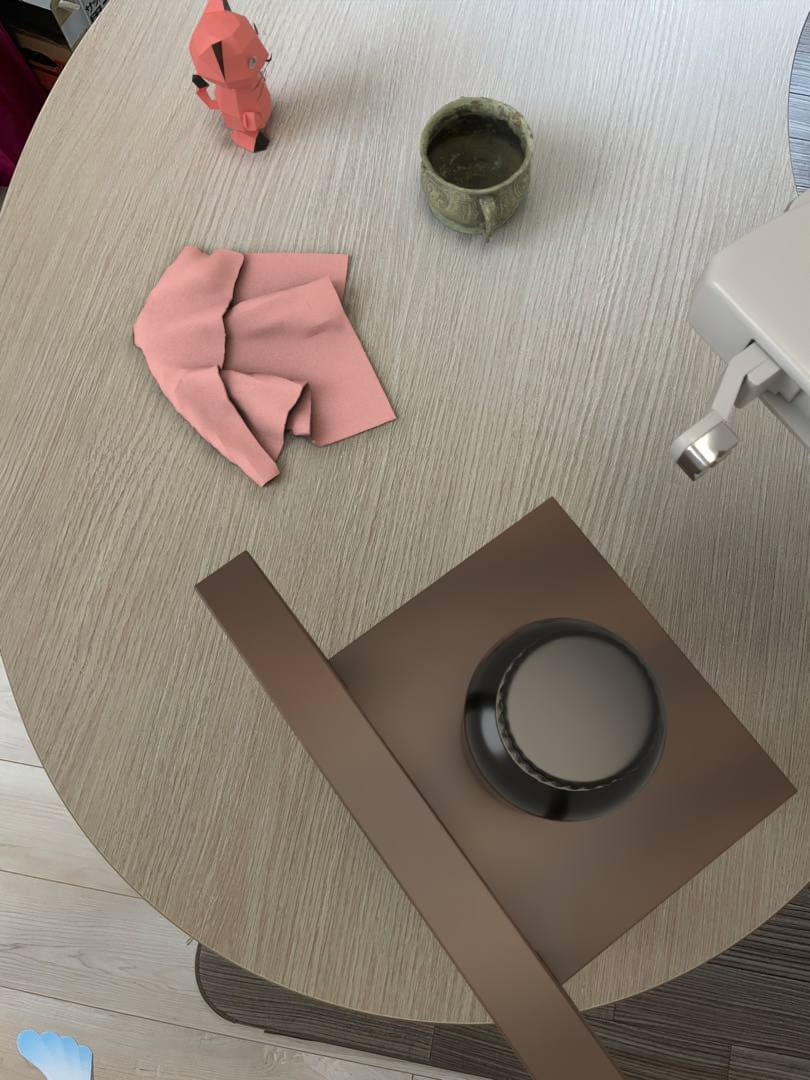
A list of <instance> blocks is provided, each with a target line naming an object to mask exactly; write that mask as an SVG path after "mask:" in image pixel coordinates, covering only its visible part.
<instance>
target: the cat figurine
mask: <svg viewBox="0 0 810 1080" xmlns="http://www.w3.org/2000/svg"><path fill="white" fill-rule="evenodd" d="M252 25H253V26H252ZM262 26H263V28H265V26H264V25H262ZM262 32H263V34H264V35H266V32H265V30H262ZM259 35H260V34H259V30H258V27H257V26H256V23H255V22H253V23H252V24H251V22H250V21H249V19H248V18H247V16H246V15H243V14H240V13H237V12H235V11H233V10H232V8H231V6H230V3H229V1H228V0H208V1H207V3H206V5H205V8H204V9H203V13H202V15H201V16H200V18H199V21H198V23H197V24H196V26H195V28H194V30H193V33H192V34H191V38H190V41H189V45H188V51H189V54H190V57H191V60H192V63H193V66H194V69H195V71H196V74H192V75H191V83H193V84H194V86H196V87H195V94H196V96H197V97H198V98H199V99H200V100H201V101H202V102H203V103H204V104H205V106H207V107H208V109H209V110H215V111H216V110H217V111H220V114H221V116H222V119H223V121H224V122H223V123H224V124H225V127H226V128H227V129H231V130H233V132H232V133H231V135H230V139H231V140H232V141H233V142H234V143H235V144H236V145H237V146H238V147H239V148H242V149H245V150H247V151H249V152H251V153H254V154H255V153H257V152H258V153H259V152H261V151H266V150H267V148H268V147H269V144H270V142H271V140H270V139H268V137H267V136H266V134H264V132H262V131H261V130H260V129H264V128H265V127H266V124H267V122H268V120H269V118H270V116H271V114H273V103H272V96H271V93H270V90H269V88H268V86H267V83H266V81H267V79H266V76H267V71H266V70H267V67H268V65H269V64H270V62H272V59H273V52H271V53H270V54H269V52H268V49H266V47H267V48H268V46H266V47H265V45H264V44H263V41H262V40H261V38H260V37H259ZM266 44H268V43H267V41H266ZM268 58H269V59H268ZM266 63H267V64H266ZM265 64H266V66H265ZM264 66H265V67H264ZM262 69H263V70H262ZM208 82H209V83H208ZM210 83H212V84H214V85H215V86H214V87H215V88H214V94H213V95H214V98H215V99H212V97H211V96H210V95H209V92H208V91H207V89H208V88H209V87H210V86H211V85H210Z"/></svg>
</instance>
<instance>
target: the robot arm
mask: <svg viewBox="0 0 810 1080" xmlns="http://www.w3.org/2000/svg"><path fill="white" fill-rule="evenodd" d="M687 321H688V324H689V325H690V327H691V328H692V329H693V331H695V333H696V334H697V335H698V336H699V337H700V338H701V339H702V340H703V341H704V342H705V344H707V346H708V347H709V348H710V349H711V350H712V352H714V353H715V354H716V355H717V356H718V358H720V359H721V360H722V362H724V364H725V365H726V366H725V367H724V369H723V370H722V372H721V374H720V375H719V377H718V378H717V379H716V381H715V383H714V384H713V386H712V389H711V392H710V395H709V396H708V397H709V398H708V400H707V403H706V406H705V408H704V411H703V414H702V417H701V419H700V420H699V421H697V422H696V423H694V424H693V425H692V426H690V427H689V428H688V429H686V430H685V431H684V432H682V433H681V434H680V435H679V436H678V437H677V438H676V439H675V440H674V441H673V442H672V444H671V446H670V447H669V449H668V451H667V452H666V453H667V454H668V455H669V457H670V458H671V459H672V460H673V461H674V462H675V464H677V466H678V467H679V468H680V469H681V470H682V471H683V473H685V475H686V476H687V477H688V478H689V479H690V480H691V481H692V482H697V480H699V479H700V478H702V477H703V476H704V475H705V474H706V473H707V472H708V471H709V469H713V468H715V467H716V466H718V465H719V464H720V463H722V462H723V461H724V460H725V459H727V458H728V456H730V454H731V453H732V450H733V449H735V448H736V447H737V445H738V444H739V443H740V442H741V438H740V437H738V435H737V434H736V433H735V432H734V431H733V429H732V428H731V427H730V426H729V425H728V421H729V418H730V416H731V413H732V411H733V408H734V407H735V408H736V409H739V410H742V409H744V407H747V406H748V405H749V404H750V403H751V402H753V401H754V400H756V399H758V400H759V401H760V402H761V403H762V404H763V405H764V406H765V407H766V409H768V410H769V412H771V414H772V415H773V416H774V417H775V418H776V419H777V420H778V421H779V423H780V424H782V425H783V426H784V427H785V429H786V430H788V431H789V433H790V434H791V435H792V436H793V437H794V438H795V439H796V440H797V441H798V442H799V443H800V444H801V446H803V447H804V449H805V450H806V451H807V452H808V453H809V454H810V187H808V188H807V189H806V190H805V191H803V192H802V193H800V194H799V195H798V196H795V197H794V198H793V199H791V201H790V202H789V203H788V204H787V205H786V207H785V209H784V210H783V212H782V213H780V214H778V215H777V216H775V217H772V218H771V219H769V220H767V221H765V222H763V223H761V224H760V225H757V226H756V227H754V228H752V229H751V230H749V231H748V232H746V233H744V234H742V235H741V236H739V237H738V238H736V239H734V240H733V241H731V242H729V243H728V244H726V245H725V246H724V247H722V248H721V249H719V250H718V251H717V252H716V253H714V254H713V255H712V256H711V258H710V259H709V260H708V261H707V263H706V264H705V266H704V268H703V269H702V271H701V272H700V275H699V276H698V278H697V280H696V282H695V285H694V287H693V290H692V293H691V297H690V303H689V307H688V316H687Z"/></svg>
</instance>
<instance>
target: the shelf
mask: <svg viewBox="0 0 810 1080" xmlns="http://www.w3.org/2000/svg"><path fill="white" fill-rule="evenodd" d="M193 588H194V590H195V592H196V594H197V595H198V596H199V597H200V599H201V601H202V602H203V604H204V605H205V606H206V608H207V609H208V611H209V612H210V614H211V615H212V617H213V618H214V619H215V621H216V622H217V624H218V625H219V627H220V628H221V630H222V631H223V632H224V634H225V635H226V637H227V639H228V640H229V641H230V642H231V644H232V645H233V647H234V648H235V650H236V651H237V653H238V654H239V656H240V657H241V659H242V660H243V661H244V663H245V664H246V666H247V667H248V669H249V670H250V671H251V673H252V675H253V676H254V677H255V679H256V680H257V682H258V683H259V685H260V686H261V687H262V689H263V690H264V692H265V693H266V695H267V696H268V698H269V699H270V701H271V702H272V703H273V705H274V707H276V710H278V712H279V714H280V716H282V718H283V719H284V721H285V722H286V724H287V725H288V727H289V728H290V730H291V731H292V733H293V734H294V735H295V737H296V739H298V741H299V743H300V744H301V745H302V747H303V749H305V751H306V752H307V753H306V754H308V756H309V757H310V758H311V760H312V762H313V763H314V764H315V766H316V767H317V768H318V770H319V772H320V773H321V774H322V776H323V778H324V779H325V780H326V781H327V784H328V785H329V787H331V789H332V791H333V792H334V793H335V795H336V796H337V798H338V799H339V801H340V802H341V803H342V805H343V806H344V808H345V809H346V810H347V812H348V814H349V815H350V816H351V818H352V819H353V821H354V822H355V824H356V825H357V827H358V828H359V829H360V830H361V832H362V834H363V835H364V837H365V838H366V840H367V841H368V842H369V844H370V845H371V847H372V848H373V849H374V851H375V852H376V854H377V855H378V857H379V858H380V860H381V861H382V863H383V864H384V866H385V867H386V868H387V870H388V872H389V873H390V874H391V876H392V877H393V879H394V880H395V882H396V883H397V885H398V886H399V888H400V889H401V890H402V892H403V893H404V895H405V896H406V897H407V899H408V900H409V901H410V903H411V905H412V906H413V908H414V909H415V911H416V912H417V913H418V915H419V916H420V918H421V920H422V921H423V922H424V923H425V925H426V927H427V928H428V930H429V931H430V932H431V933H432V935H433V936H434V938H435V940H436V941H437V942H438V944H439V945H440V947H441V948H442V949H443V951H444V953H445V954H446V955H447V957H448V958H449V959H450V962H452V964H453V966H454V967H455V969H456V970H457V971H458V973H459V974H460V975H461V977H462V979H463V980H464V982H465V983H466V984H467V986H468V987H469V989H470V990H471V991H472V993H473V995H474V996H475V997H476V999H477V1000H478V1002H479V1003H480V1004H481V1006H482V1008H483V1009H484V1010H485V1012H486V1014H487V1015H488V1016H489V1018H490V1019H491V1021H492V1022H493V1024H494V1025H495V1026H496V1028H497V1029H498V1030H499V1032H500V1034H501V1035H502V1036H503V1038H504V1039H505V1041H506V1042H507V1044H508V1045H509V1046H510V1048H511V1050H512V1051H513V1052H514V1054H515V1055H516V1057H517V1058H518V1060H519V1061H520V1063H521V1064H522V1065H523V1067H524V1069H525V1070H526V1072H528V1074H529V1076H530V1077H531V1079H532V1080H629V1079H628V1078H627V1076H626V1075H625V1073H624V1072H623V1071H622V1069H621V1068H620V1066H619V1065H618V1063H617V1062H616V1061H615V1059H614V1058H613V1056H612V1055H611V1053H610V1052H609V1050H608V1049H607V1047H606V1046H605V1045H604V1043H603V1042H602V1040H601V1039H600V1037H599V1036H598V1035H597V1034H596V1032H595V1030H594V1029H593V1027H592V1026H591V1025H590V1023H589V1022H588V1020H587V1019H586V1018H585V1016H584V1015H583V1013H582V1012H581V1010H580V1009H579V1007H578V1006H577V1005H576V1003H575V1001H574V1000H573V999H572V997H571V996H570V994H568V991H567V990H566V989H565V988H564V986H563V985H564V984H566V983H567V982H568V981H570V979H572V978H573V977H574V976H575V975H577V974H578V973H580V971H582V969H583V968H585V967H587V966H588V965H589V964H590V963H592V962H593V961H594V960H595V959H596V958H598V957H599V956H600V955H601V954H602V953H603V952H605V951H606V950H607V949H608V948H609V947H611V946H612V945H613V944H614V943H616V942H617V941H618V940H619V939H620V938H622V937H623V936H624V935H625V934H627V933H628V932H629V931H630V930H632V928H634V927H635V926H636V925H638V924H639V923H640V922H641V921H642V920H644V919H645V918H646V917H648V916H649V915H650V914H651V913H652V912H653V911H654V910H656V909H658V907H660V906H661V905H662V904H663V903H664V902H666V901H667V900H668V899H669V898H670V897H671V896H673V895H674V894H675V893H677V892H678V891H679V890H680V889H681V888H682V887H684V886H685V885H686V884H687V883H689V881H692V879H693V878H695V877H696V876H697V875H699V874H700V873H701V872H702V871H703V870H705V869H706V867H708V866H709V865H711V864H712V863H713V862H714V861H716V860H717V859H718V858H719V857H720V856H721V855H723V854H724V853H725V852H726V851H728V850H729V849H730V848H731V847H732V846H733V845H735V844H736V843H737V842H738V841H740V840H741V839H742V838H744V836H746V835H747V834H749V833H750V832H751V831H752V830H753V829H754V828H756V827H757V826H758V825H759V824H760V823H761V822H763V821H764V820H765V819H767V818H768V817H769V816H770V815H772V813H774V812H775V811H776V810H778V809H779V808H780V807H781V806H782V805H783V804H785V803H786V802H787V801H788V800H790V799H791V798H792V797H793V796H795V795H796V794H797V793H798V789H797V787H795V785H794V784H793V783H792V782H791V780H790V779H789V778H788V777H787V776H786V774H785V773H784V772H783V770H781V768H780V767H779V765H777V764H776V762H775V761H774V760H773V759H772V758H771V756H770V755H769V754H768V753H767V752H766V750H765V749H764V748H763V747H762V746H761V745H760V743H759V742H758V741H757V739H756V738H755V737H754V736H753V734H751V732H750V731H749V730H748V728H746V726H745V725H744V724H743V723H742V721H740V719H739V718H738V717H737V715H736V714H735V713H734V712H733V711H732V710H731V708H730V707H729V706H728V705H727V704H726V702H725V701H724V700H723V699H722V697H721V696H720V695H719V694H718V693H717V691H716V690H715V689H714V688H713V687H712V685H711V684H710V683H709V682H708V681H707V680H706V678H705V677H704V676H703V675H702V674H701V672H700V671H699V670H698V669H697V667H696V666H695V665H694V664H693V663H692V661H691V660H690V659H689V658H688V657H687V655H686V654H685V653H684V652H683V651H682V649H681V648H680V647H679V646H678V645H677V644H676V642H675V641H674V640H673V639H672V637H671V636H670V635H669V634H668V633H667V632H666V630H665V629H664V628H663V627H662V626H661V624H660V623H659V622H658V621H657V619H656V618H655V617H654V616H653V615H652V614H651V612H650V611H649V609H647V607H646V606H645V605H644V604H643V603H642V601H641V599H639V598H638V596H637V595H635V593H634V591H632V590H631V588H630V587H629V586H628V585H627V583H626V582H625V581H624V580H623V579H622V577H621V576H620V575H619V574H618V573H617V571H616V570H615V569H614V568H613V567H612V566H611V564H610V563H609V562H608V561H607V559H606V558H605V557H604V556H603V555H602V553H601V552H600V551H599V550H598V549H597V548H596V546H595V545H594V544H593V542H592V541H591V540H590V539H589V537H588V536H587V535H586V534H585V533H584V532H583V531H582V530H581V528H580V527H579V526H578V525H577V523H576V522H575V521H574V520H573V519H572V517H571V516H570V515H569V514H568V513H567V511H566V510H565V509H564V507H562V505H561V504H560V503H559V502H558V500H557V499H556V498H555V497H554V496H550V497H549V498H547V499H546V500H545V501H543V502H542V503H541V504H539V505H537V506H536V507H535V508H534V509H532V510H531V511H530V512H528V513H526V514H525V515H524V516H523V517H521V518H520V519H519V520H517V521H516V522H514V523H513V524H511V525H510V526H508V527H507V528H506V529H505V530H504V531H502V532H501V533H499V534H498V535H497V536H495V537H494V538H492V539H491V540H490V541H488V542H487V543H486V544H484V545H483V546H481V547H480V548H479V549H477V550H476V551H474V552H473V553H472V554H470V556H467V557H466V558H465V559H464V560H462V561H461V562H460V563H458V564H457V565H455V566H454V567H453V568H451V569H450V570H449V571H447V572H446V573H444V574H443V575H442V576H440V577H439V578H438V579H436V580H435V581H434V582H433V583H431V584H429V585H428V586H427V587H425V588H424V589H423V590H421V591H420V592H418V593H417V594H416V595H415V596H413V597H412V598H410V599H409V600H407V601H406V602H405V603H404V604H402V605H401V606H400V607H398V608H397V609H395V610H394V611H392V612H391V613H390V614H388V615H387V616H386V617H385V618H383V619H382V620H380V621H379V622H378V623H376V624H374V625H373V626H372V627H370V628H369V629H368V630H366V631H365V632H363V633H362V634H361V635H360V636H358V637H357V638H356V639H354V640H352V641H351V642H350V643H349V644H347V645H346V646H345V647H343V648H342V649H340V650H339V651H337V653H335V654H334V655H332V656H331V657H329V658H328V657H327V656H326V654H325V653H324V652H323V651H322V649H321V648H320V646H319V645H318V644H317V642H316V641H315V639H314V638H313V637H312V636H311V634H310V633H309V631H308V630H307V629H306V628H305V626H304V625H303V623H302V622H301V620H300V619H299V618H298V616H297V615H296V614H295V612H294V611H293V610H292V609H291V607H290V606H289V605H288V603H287V602H286V601H285V599H284V598H283V597H282V595H281V593H280V592H279V591H278V590H277V588H276V587H275V586H274V584H273V582H272V581H271V580H270V579H269V578H268V576H267V575H266V573H265V572H264V571H263V570H262V568H261V567H260V565H259V564H258V563H257V561H256V560H255V558H254V557H253V556H252V554H251V553H250V551H248V550H243V551H242V552H240V553H239V554H237V555H236V556H235V557H233V558H232V559H230V560H229V561H227V562H226V563H224V564H223V565H222V566H220V567H219V568H217V569H215V570H214V571H213V572H212V573H210V574H209V575H207V576H206V577H205V578H204V579H201V580H200V581H199V582H197V583H196V584H195V585H194V586H193ZM549 618H574V619H581V620H586V621H589V622H593V623H596V624H598V625H601V626H603V627H606V628H608V629H609V630H611V631H613V632H615V633H617V634H618V635H620V636H621V637H623V638H624V639H625V640H626V641H628V642H629V643H630V644H631V645H632V646H633V647H634V648H635V649H636V650H638V652H639V653H640V654H641V655H642V656H643V657H644V659H645V660H646V661H647V663H648V664H649V666H650V667H651V669H652V671H653V672H654V674H655V676H656V678H657V680H658V682H659V685H660V688H661V690H662V693H663V697H664V701H665V706H666V713H667V734H666V741H665V746H664V750H663V754H662V756H661V759H660V762H659V764H658V766H657V768H656V770H655V772H654V774H653V775H652V777H651V779H650V780H649V782H648V783H647V784H646V785H645V787H644V788H643V789H642V790H641V791H640V792H639V793H638V794H637V795H636V796H635V797H634V798H633V799H632V800H630V801H629V802H628V803H626V804H625V805H623V806H622V807H620V808H619V809H617V810H615V811H613V812H611V813H609V814H606V815H604V816H601V817H597V818H594V819H590V820H584V821H575V822H560V821H552V820H547V819H543V818H538V817H535V816H531V815H527V814H524V813H521V812H518V811H516V810H514V809H511V808H509V807H508V806H506V805H504V804H502V803H501V802H500V801H498V800H497V799H495V798H494V797H493V796H492V795H491V794H489V793H488V792H487V791H486V790H485V788H484V787H483V786H482V785H481V784H480V783H479V781H478V780H477V778H476V777H475V775H474V774H473V772H472V770H471V768H470V766H469V764H468V761H467V759H466V756H465V752H464V749H463V743H462V735H461V722H462V714H463V708H464V703H465V698H466V693H467V690H468V686H469V683H470V680H471V678H472V676H473V673H474V671H475V670H476V668H477V666H478V664H479V663H480V661H481V660H482V658H483V657H484V656H485V654H486V653H487V652H488V651H489V650H490V649H491V648H492V647H493V646H494V645H495V644H496V643H497V642H498V641H499V640H500V639H502V638H503V637H504V636H505V635H507V634H508V633H510V632H512V631H513V630H515V629H517V628H519V627H521V626H523V625H526V624H528V623H531V622H535V621H538V620H543V619H549Z"/></svg>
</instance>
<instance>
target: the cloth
mask: <svg viewBox="0 0 810 1080" xmlns="http://www.w3.org/2000/svg"><path fill="white" fill-rule="evenodd" d="M348 264H349V254H343V253H342V254H341V253H340V254H339V253H323V252H322V253H321V252H320V253H319V252H284V251H283V252H282V251H281V252H280V251H279V252H238V251H235V250H231V249H226V248H216V250H214V251H213V252H212V253H211V254H208V253H204V252H202V251H201V250H200V249H199V248H197V247H196V246H195V245H185V246H184V248H183V249H182V250H181V252H179V254H178V256H177V258H176V259H175V261H174V262H173V263H171V264H170V265H169V266H167V268H166V270H165V271H164V272H163V273H162V276H161V277H160V279H159V280H158V282H157V283H156V285H155V286H154V287H153V289H152V290H150V292H149V294H148V296H147V298H146V301H145V304H144V306H143V307H142V309H141V310H140V312H139V314H138V316H137V318H136V320H135V322H134V324H133V325H132V328H131V331H132V344H133V346H135V347H137V348H139V349H141V351H142V353H143V356H144V358H145V360H146V363H147V366H148V368H149V371H150V373H151V374H152V376H153V378H154V379H155V381H156V382H157V383H158V384H159V388H160V389H161V392H162V394H163V395H164V396H165V398H167V400H168V401H169V402H170V403H171V405H172V406H173V407H174V409H175V410H176V412H177V413H178V414H179V415H180V416H181V417H182V419H184V421H186V422H188V423H189V424H190V426H191V427H192V428H193V429H194V430H195V432H196V433H197V434H198V435H199V436H200V437H201V438H202V439H203V440H204V441H205V442H206V443H209V444H210V445H212V446H213V448H214V449H215V450H216V451H217V452H218V453H219V454H220V455H221V456H222V457H223V458H225V459H226V460H227V461H228V462H229V463H231V464H233V465H235V466H237V467H238V468H240V469H241V470H242V471H243V472H244V473H245V474H246V475H247V476H248V477H249V478H250V479H251V480H253V481H254V482H255V483H256V484H257V485H258V486H259V487H260V488H262V487H263V486H264V485H265V484H267V483H268V482H269V481H271V480H272V479H273V478H275V477H276V476H278V475H280V474H281V472H280V470H279V468H278V466H277V464H276V463H277V460H278V458H279V456H280V454H281V452H282V450H283V447H284V445H285V431H291V432H292V434H293V435H294V436H295V437H297V436H301V437H303V439H305V440H306V441H307V442H309V443H312V444H313V445H316V446H319V447H323V446H329V445H332V444H334V443H337V442H340V441H343V440H346V439H348V438H350V437H353V436H356V435H359V434H361V433H363V432H366V431H369V430H372V429H374V428H377V427H380V426H381V425H383V424H386V423H389V422H391V421H394V420H397V417H396V415H395V413H394V410H393V408H392V406H391V403H390V402H389V399H388V397H387V395H386V393H385V391H384V389H383V387H382V385H381V383H380V380H379V379H378V377H377V374H376V372H375V370H374V368H373V366H372V364H371V362H370V359H369V358H368V356H367V354H366V352H365V350H364V347H363V345H362V343H361V340H359V337H358V336H357V333H356V332H355V330H354V328H353V326H352V324H351V322H350V320H349V318H348V317H347V314H346V313H345V310H344V307H343V299H344V295H345V290H346V282H347V275H348V266H349V265H348Z"/></svg>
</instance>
